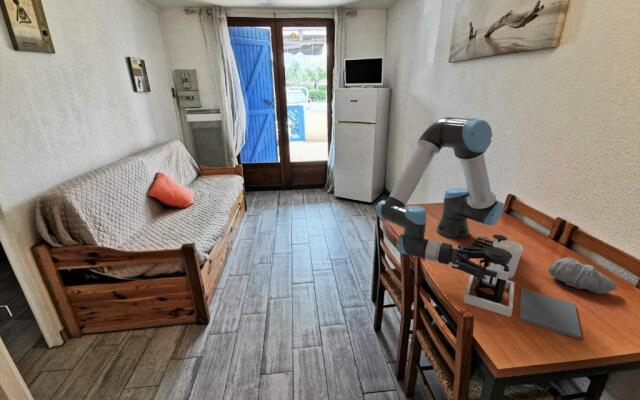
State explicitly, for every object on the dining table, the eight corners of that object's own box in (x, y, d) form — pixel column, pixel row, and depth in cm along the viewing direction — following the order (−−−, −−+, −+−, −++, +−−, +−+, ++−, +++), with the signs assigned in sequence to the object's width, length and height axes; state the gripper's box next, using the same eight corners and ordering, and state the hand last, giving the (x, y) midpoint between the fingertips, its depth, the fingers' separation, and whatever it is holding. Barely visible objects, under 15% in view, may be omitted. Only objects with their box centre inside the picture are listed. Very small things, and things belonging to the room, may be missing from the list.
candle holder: (513, 267, 123) (519, 241, 119) (519, 281, 115) (526, 253, 111) (486, 263, 127) (491, 238, 122) (490, 276, 118) (496, 249, 114)
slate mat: (519, 320, 96) (520, 317, 95) (521, 291, 109) (521, 289, 109) (580, 339, 88) (581, 336, 88) (573, 305, 101) (574, 303, 101)
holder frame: (463, 302, 104) (464, 295, 103) (470, 277, 118) (472, 271, 117) (510, 317, 97) (512, 309, 96) (512, 289, 110) (514, 282, 109)
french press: (468, 285, 113) (478, 229, 105) (493, 285, 113) (505, 229, 105) (483, 306, 102) (496, 245, 94) (511, 306, 102) (526, 245, 94)
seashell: (617, 295, 106) (626, 270, 103) (587, 303, 102) (595, 278, 99) (570, 270, 121) (576, 248, 117) (542, 277, 117) (548, 254, 113)
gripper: (444, 248, 122) (507, 262, 111) (431, 276, 104) (506, 296, 93) (446, 231, 120) (511, 244, 109) (433, 257, 101) (510, 275, 90)
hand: (509, 268), depth 101 cm, fingers closed on french press, 10 cm apart
